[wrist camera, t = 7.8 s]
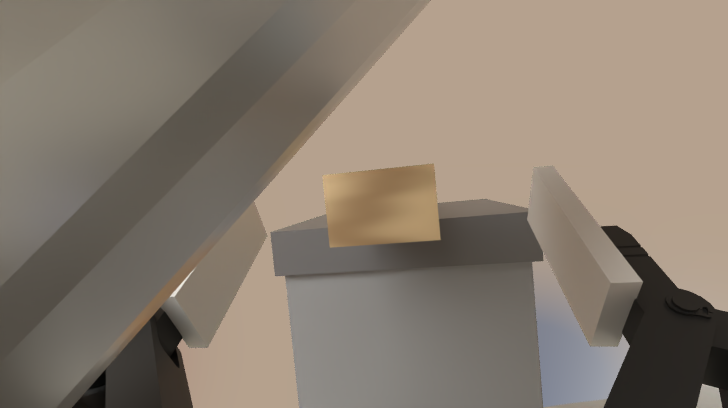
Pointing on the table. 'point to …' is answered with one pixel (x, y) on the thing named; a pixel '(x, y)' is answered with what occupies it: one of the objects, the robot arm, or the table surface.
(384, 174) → the oak slat
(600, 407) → the table surface
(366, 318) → the grey box
